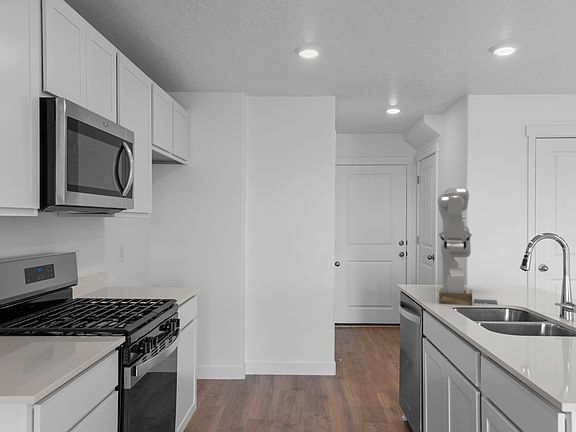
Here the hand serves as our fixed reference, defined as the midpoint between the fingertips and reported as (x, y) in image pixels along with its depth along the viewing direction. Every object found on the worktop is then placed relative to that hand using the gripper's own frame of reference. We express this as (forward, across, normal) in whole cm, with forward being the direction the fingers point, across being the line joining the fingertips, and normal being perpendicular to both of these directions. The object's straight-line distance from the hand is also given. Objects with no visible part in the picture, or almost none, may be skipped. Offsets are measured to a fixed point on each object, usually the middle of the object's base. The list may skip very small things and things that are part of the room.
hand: (455, 249), depth 278 cm
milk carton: (+30, 0, 0) cm, 30 cm away
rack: (+30, 0, -2) cm, 30 cm away
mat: (+29, -16, -7) cm, 34 cm away
